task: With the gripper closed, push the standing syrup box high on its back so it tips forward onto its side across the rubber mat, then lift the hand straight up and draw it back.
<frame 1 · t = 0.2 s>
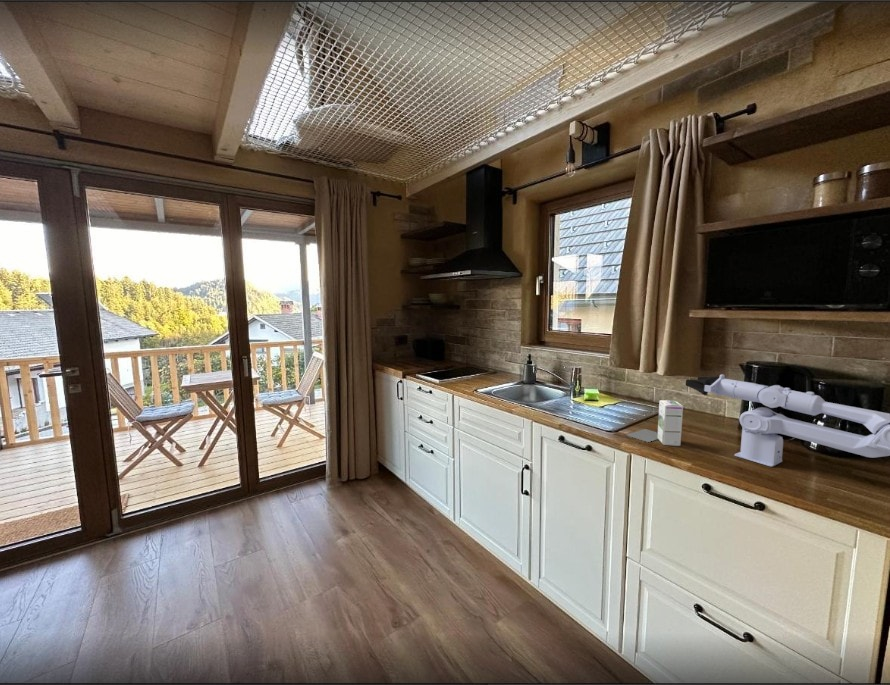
hand: (692, 381, 128), 21 cm above the worktop, tool horizontal, fingers open, 7 cm apart
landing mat: (646, 435, 133), on the worktop
syrup box: (668, 442, 126), on the worktop, touching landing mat
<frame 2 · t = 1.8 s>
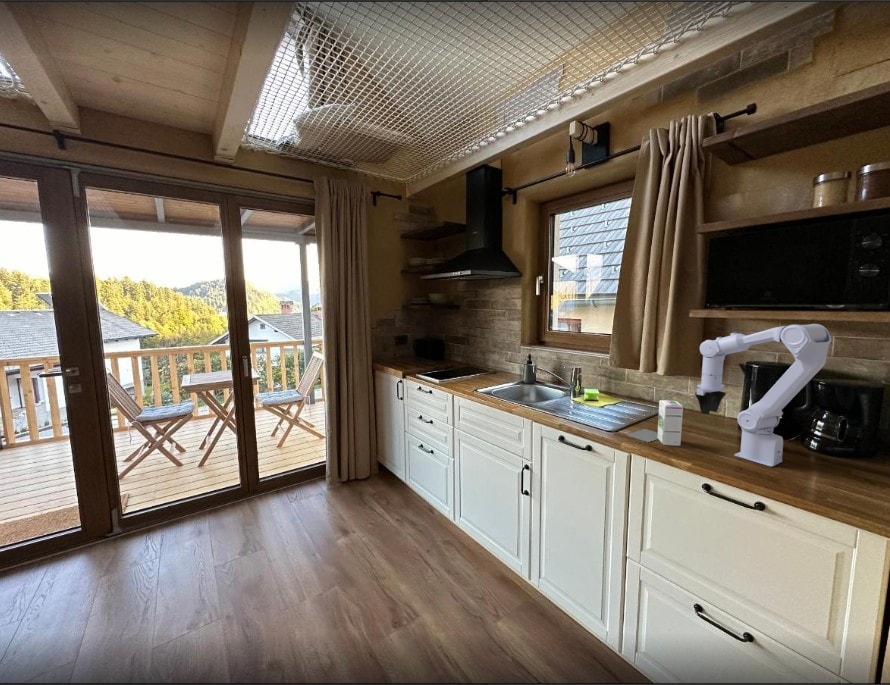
hand: (708, 412, 126), 10 cm above the worktop, tool pointing down, fingers open, 5 cm apart
nothing on the worktop moved.
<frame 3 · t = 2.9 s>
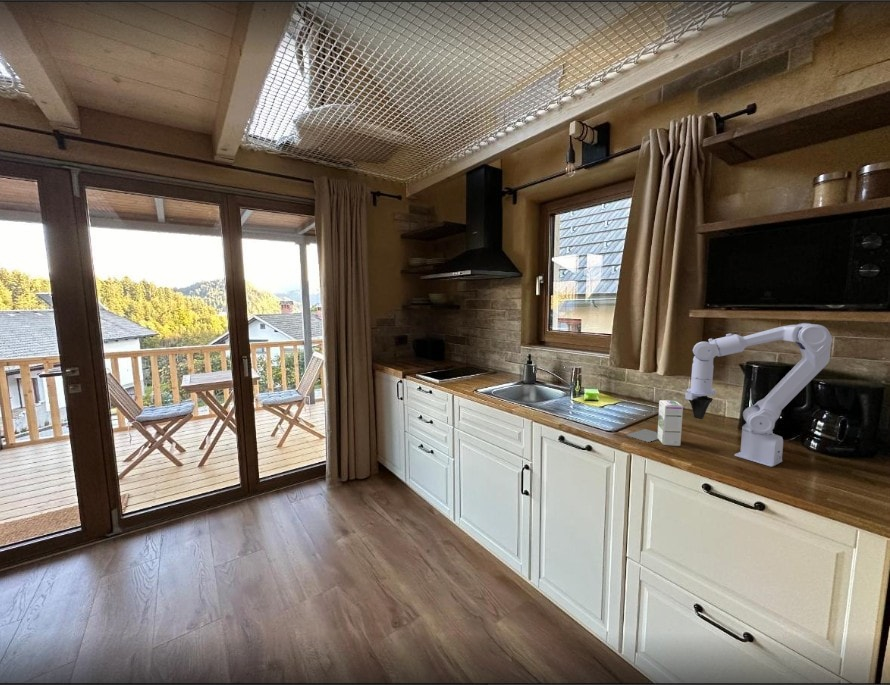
hand: (698, 418, 120), 10 cm above the worktop, tool pointing down, fingers closed
nothing on the worktop moved.
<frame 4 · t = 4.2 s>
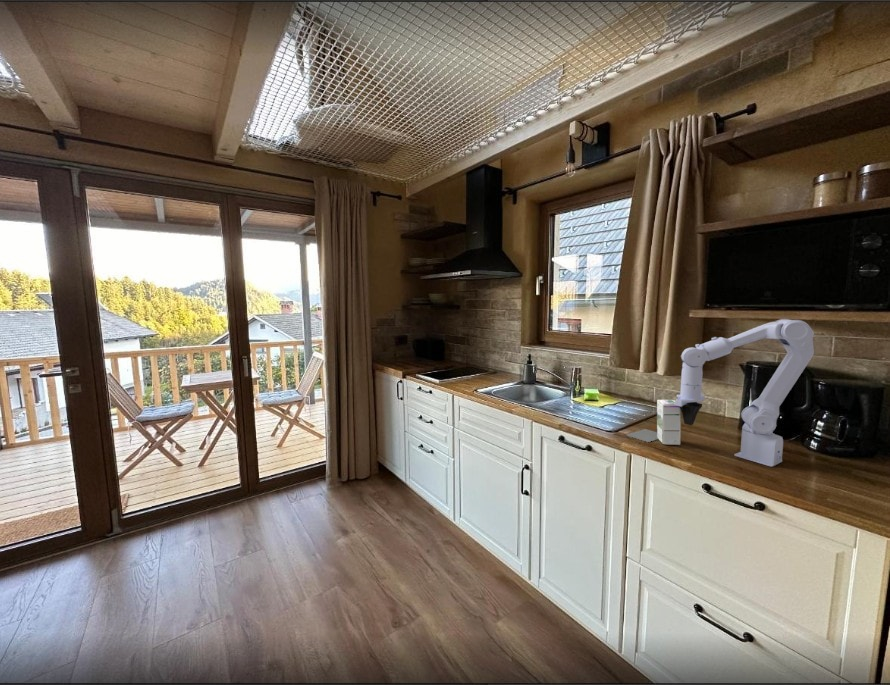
hand: (688, 424, 120), 8 cm above the worktop, tool pointing down, fingers closed
syrup box: (668, 442, 126), on the worktop, touching gripper, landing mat
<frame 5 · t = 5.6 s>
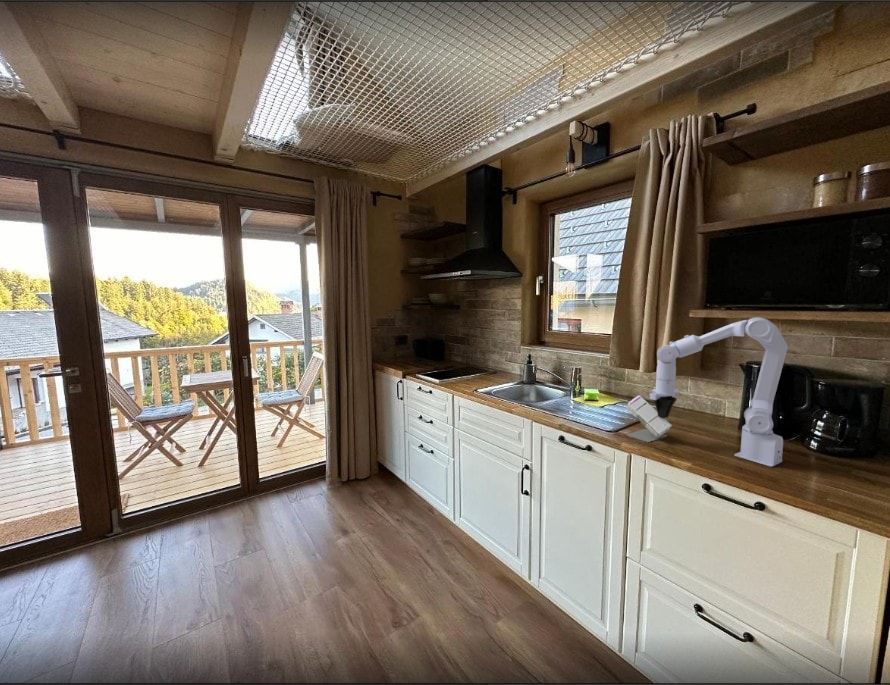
hand: (663, 417, 127), 9 cm above the worktop, tool pointing down, fingers closed on syrup box
syrup box: (664, 432, 127), point 3 cm above the worktop, touching gripper, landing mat
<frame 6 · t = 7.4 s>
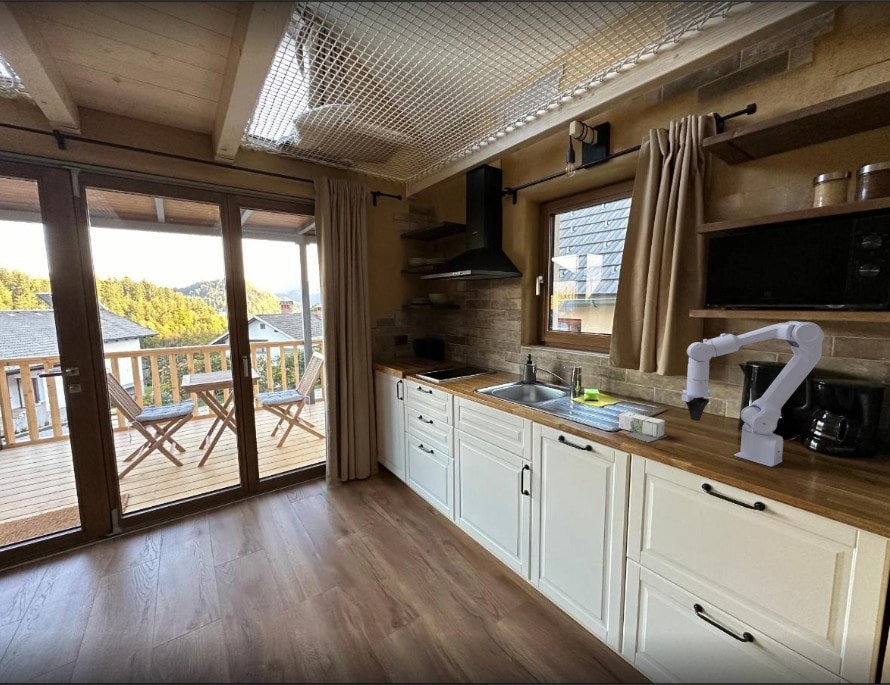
hand: (695, 419, 118), 10 cm above the worktop, tool pointing down, fingers closed
syrup box: (661, 429, 131), point 3 cm above the worktop, touching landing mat
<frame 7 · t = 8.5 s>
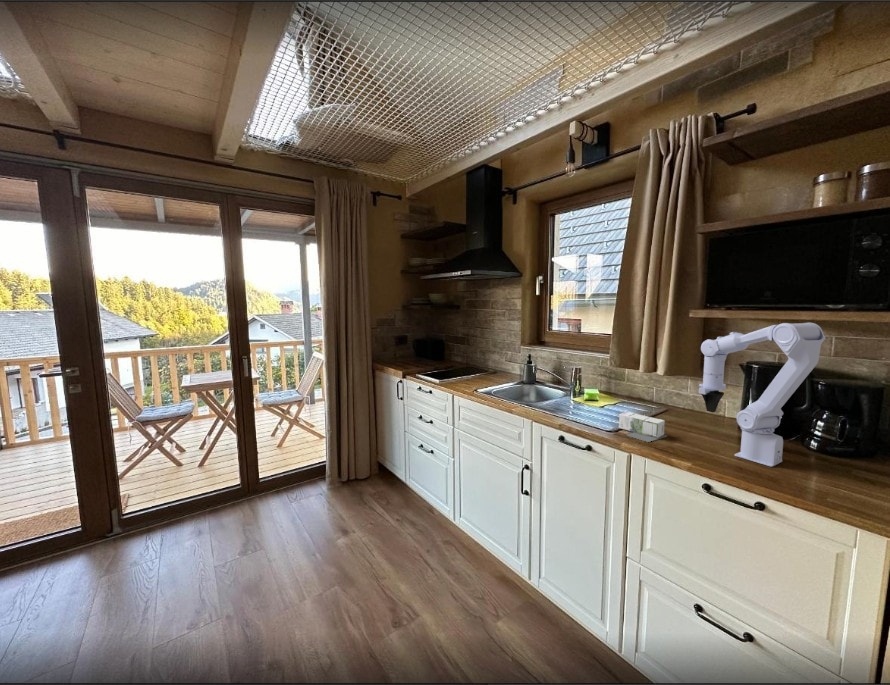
hand: (711, 411, 127), 10 cm above the worktop, tool pointing down, fingers closed
nothing on the worktop moved.
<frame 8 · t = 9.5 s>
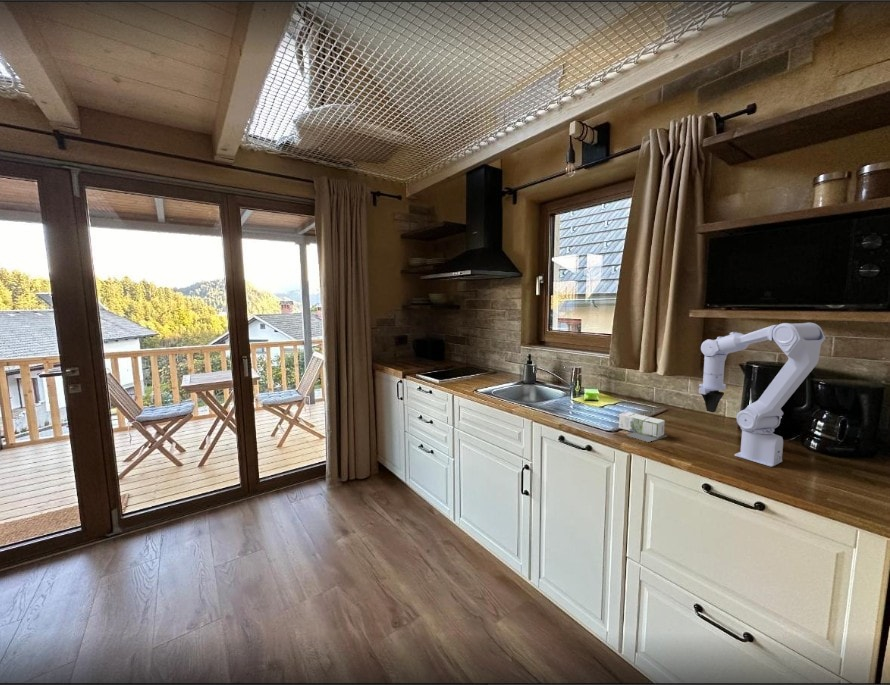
hand: (711, 411, 127), 10 cm above the worktop, tool pointing down, fingers closed
nothing on the worktop moved.
at the end: syrup box tilted 90°; syrup box touching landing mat; syrup box inside the target area (2.6 cm from its centre), point 3.2 cm above the worktop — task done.
